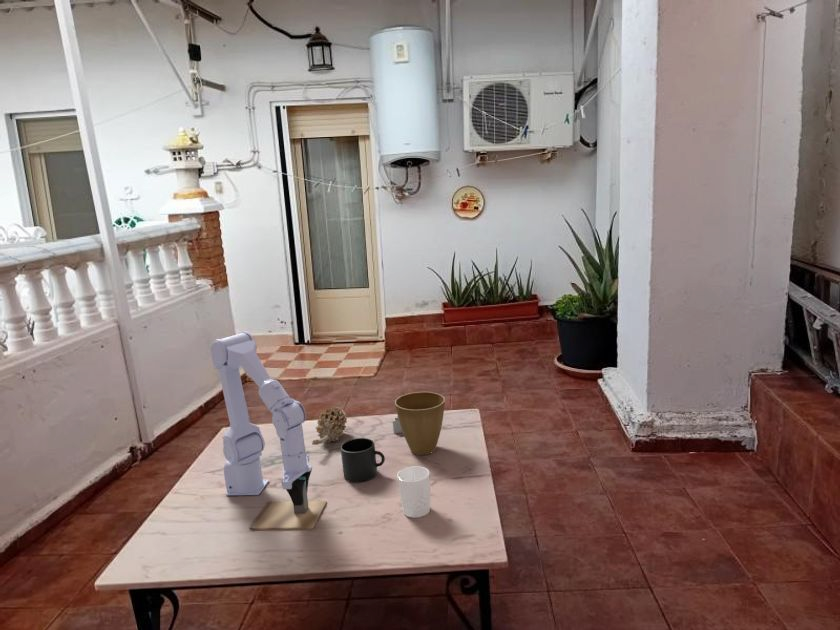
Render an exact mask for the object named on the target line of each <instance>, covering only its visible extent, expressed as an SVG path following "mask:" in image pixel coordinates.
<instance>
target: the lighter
mask: <svg viewBox="0 0 840 630" xmlns="http://www.w3.org/2000/svg"><path fill="white" fill-rule="evenodd" d="M392 430H393V434H395V435H396V434H403V431H402V428H401V425H400V422H399V419H398V415H397V416H395V417H394V418H393V419H392Z"/></svg>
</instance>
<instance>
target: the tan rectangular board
mask: <svg viewBox="0 0 840 630" xmlns="http://www.w3.org/2000/svg"><path fill="white" fill-rule="evenodd" d="M327 503H328V502H327V501H326V500H321V501H320V500H317V501H316V500H315V501H313V500H309V501H308V507H309V508H308V509H307V511H306V513H305V514H297V513H294V506H293V502H292V500H291V501H266V503H265V504H264V506H263V507H262V509H261V510H260V511H259V513H258V514H257V516H256V517H255V519H254V520H253V522H252V523H251V524H250V526H249V527H248V529H249V530H250V531H251V530H252V531H254V530H256V531H257V530H260V531H261V530H262V531H263V530H266V531H268V530H271V531H272V530H279V531H280V530H282V531H283V530H285V531H286V530H314V529H315V527H316V525H317V523H318V522H319V519H320V517H321V515H322V513H323V511H324V509H325V507H326V505H327Z"/></svg>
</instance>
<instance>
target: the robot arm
mask: <svg viewBox="0 0 840 630" xmlns="http://www.w3.org/2000/svg"><path fill="white" fill-rule="evenodd" d="M209 350H210V354H211V355H210V356H211V361H212V364H213V368H214V369H215V370H218V375H219V379H220V384H221V388H222V389H221V390H222V393H223V397H224V402H225V406H226V407H225V408H226V410H227V416H228V417H227V418H228V420H229V428H228V429H227V431H226V432H225V434H224V435H222V442H223V445H222V446H223V448H222V452H223V455H224V458H225V459H226V460H225V462H224V467H223V475H224V483H225V487H226V492H225V496H258V495H260V494H261V492H262V491H263V490H264V488H266V486H267V485H268V483H269V481H270V479H268V478H267V479H266V478H264V477H263V471H262V463H261V456H262V455H263V454H262V452H263V451H264V450H265V445H266V444H265V439H264V437H263V434H262V432H261V429H260V427H259V426H258V425H257V424H255V423H251V421H250V417H249V410H248V407H247V401H246V398H245V391H244V389H243V388H244V387H243V384H242V383H243V382H242V378H241V374H240V367H241V368H242V369H243V370H244V371H245V372H246V374H247V375H248V376H249V377H250V379H252V381H253V382H254V383H255V384H256V386H257V387H258V392H257V393H258V396H259V398H260V399H261V400H262V402H263V403H264V404H265V406H266V407H267V408H268V410H269V411H270V414H272V417H271V422H272V425H273V427H274V429H275V431H276V435H277V437H278V438H279V441H280V442H279V443H280V450H281V456H282V464H283V469H282V472H283V479H282V481H281V486H282V489H283V490H285V491H286V492H287V494H288V495H289V497H290V499H291V501H292V502H293V504H294V505H302V504H303V488H304V483H305V481H306V489H307V491H308V489H309V488H308V487H309V481H310V477H311V474H312V469H313V466H312V465H309V462H310V456H309V454H307V452H306V444H305V437H304V429H303V424H304V423H305V421H306V420H307V419H306V418H307V413H306V410H305V407H304V406H303V404H302V403H301V402H300V401H298V400H295V398H293V397H290V396H289V394H288V393H287V391H286V390H285V388H284V386H282V384H281V383H280V382H279V380H277V379H272V378H271V376H270V374H269V373H268V371H267V369H266V368H265V366H264V365H263V363H262V361H261V359H260V358H259V356H258V354H257V342H256V341H255V338H254V337H253V336H252V335H251V333H249V331H243V332H241V333H237V334H234V335H231V336H230V335H229V336H227V337H223V338H217V339H215V340H213V341H212V343H211V345H210V347H209ZM299 477H306V480H299Z"/></svg>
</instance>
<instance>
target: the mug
mask: <svg viewBox="0 0 840 630" xmlns="http://www.w3.org/2000/svg"><path fill="white" fill-rule="evenodd" d="M340 454H341V463H342V464H341V465H342V471H343V478H344V479H345V480H346V481H348V482H351V483H363V482H368V481H370V480H372V479H374V478H375V477H376V475H377V474H378V467H382V465H383V464H385V461H386V460H385V459H386V458H385V455H384V454H383V453H382V452H381V451H379V450H376V445H375V442H374V441H373V439H371V438H365V437H358V438H353V439H349V440H347V441H345V442H343V443H342V444H341V445H340ZM376 455H379V456H380V458H381V461H380V462H377V457H376Z"/></svg>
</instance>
